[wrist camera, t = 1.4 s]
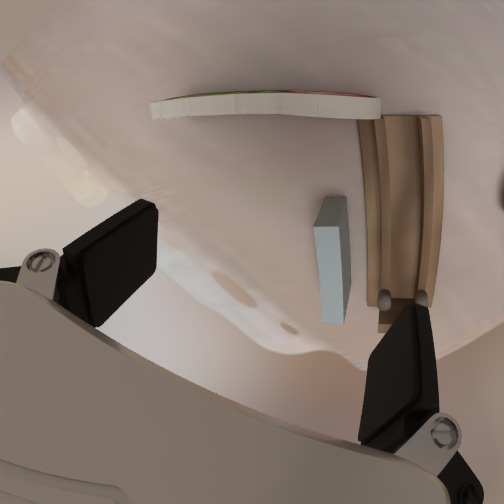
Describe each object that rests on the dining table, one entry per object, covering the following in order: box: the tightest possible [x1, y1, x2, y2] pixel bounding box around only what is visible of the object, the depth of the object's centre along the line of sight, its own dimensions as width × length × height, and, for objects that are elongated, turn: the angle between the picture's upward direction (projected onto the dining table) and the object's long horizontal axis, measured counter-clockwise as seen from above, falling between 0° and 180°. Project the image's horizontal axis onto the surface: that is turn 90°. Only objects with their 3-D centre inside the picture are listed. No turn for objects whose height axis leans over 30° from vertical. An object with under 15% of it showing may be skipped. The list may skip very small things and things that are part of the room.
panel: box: [313, 196, 351, 324], centre depth 33 cm, size 2×12×8 cm, turn 11°
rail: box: [358, 115, 444, 333], centre depth 29 cm, size 9×24×6 cm, turn 12°
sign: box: [149, 90, 381, 120], centre depth 26 cm, size 22×2×10 cm, turn 92°
